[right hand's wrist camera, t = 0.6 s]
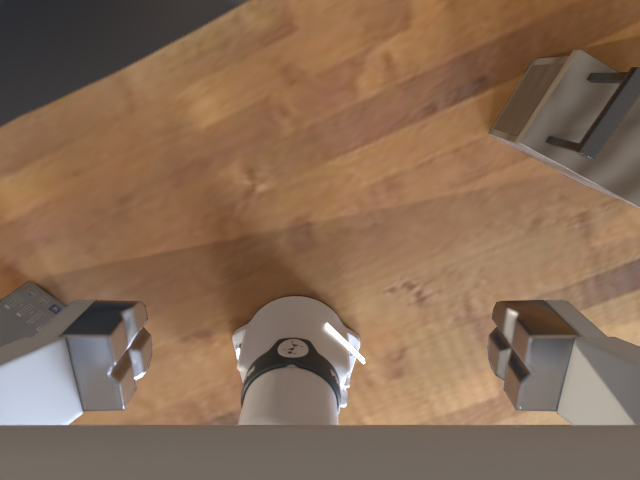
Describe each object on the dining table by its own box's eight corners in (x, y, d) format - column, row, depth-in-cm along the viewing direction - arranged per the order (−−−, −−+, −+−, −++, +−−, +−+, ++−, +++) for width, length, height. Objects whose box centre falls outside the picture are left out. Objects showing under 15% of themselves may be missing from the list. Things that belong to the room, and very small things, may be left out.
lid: (514, 141, 45) (557, 155, 36) (573, 50, 42) (634, 43, 33) (634, 205, 47) (699, 232, 39) (697, 123, 44) (782, 134, 36)
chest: (487, 133, 54) (521, 145, 45) (533, 58, 51) (580, 54, 42) (583, 184, 56) (633, 205, 47) (632, 115, 53) (697, 123, 44)
